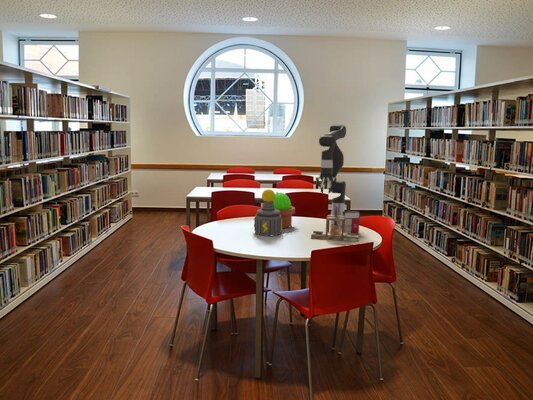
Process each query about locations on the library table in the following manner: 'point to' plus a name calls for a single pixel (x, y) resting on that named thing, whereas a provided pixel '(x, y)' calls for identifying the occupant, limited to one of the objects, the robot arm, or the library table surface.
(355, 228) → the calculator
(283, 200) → the potted cactus
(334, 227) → the cube with grey rod
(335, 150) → the robot arm
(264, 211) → the decorative lamp
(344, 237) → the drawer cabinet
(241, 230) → the library table surface
